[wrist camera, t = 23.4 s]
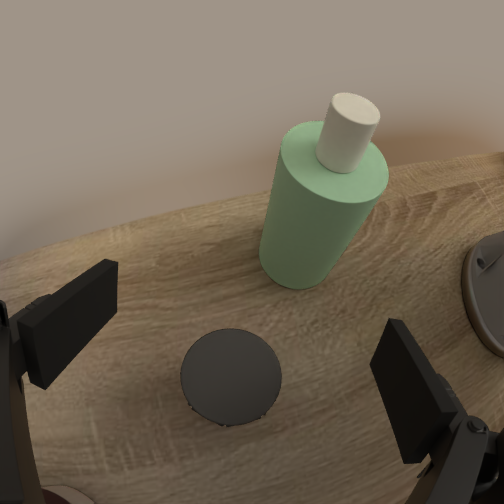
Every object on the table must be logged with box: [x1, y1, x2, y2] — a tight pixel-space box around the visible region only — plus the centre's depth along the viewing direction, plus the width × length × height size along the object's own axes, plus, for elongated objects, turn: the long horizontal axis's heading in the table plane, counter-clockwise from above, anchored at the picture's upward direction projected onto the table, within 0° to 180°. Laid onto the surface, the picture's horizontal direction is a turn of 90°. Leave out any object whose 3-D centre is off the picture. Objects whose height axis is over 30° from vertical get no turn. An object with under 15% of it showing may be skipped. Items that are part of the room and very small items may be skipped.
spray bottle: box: [259, 93, 389, 289], centre depth 23 cm, size 7×7×17 cm
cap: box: [180, 329, 282, 427], centre depth 20 cm, size 5×5×9 cm
